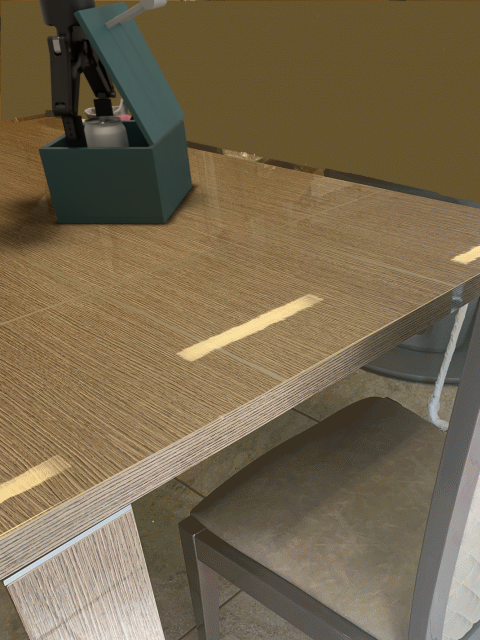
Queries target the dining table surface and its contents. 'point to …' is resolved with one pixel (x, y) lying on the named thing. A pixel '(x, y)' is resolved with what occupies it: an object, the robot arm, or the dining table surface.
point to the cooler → (118, 178)
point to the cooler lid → (132, 65)
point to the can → (105, 132)
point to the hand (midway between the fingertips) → (96, 151)
